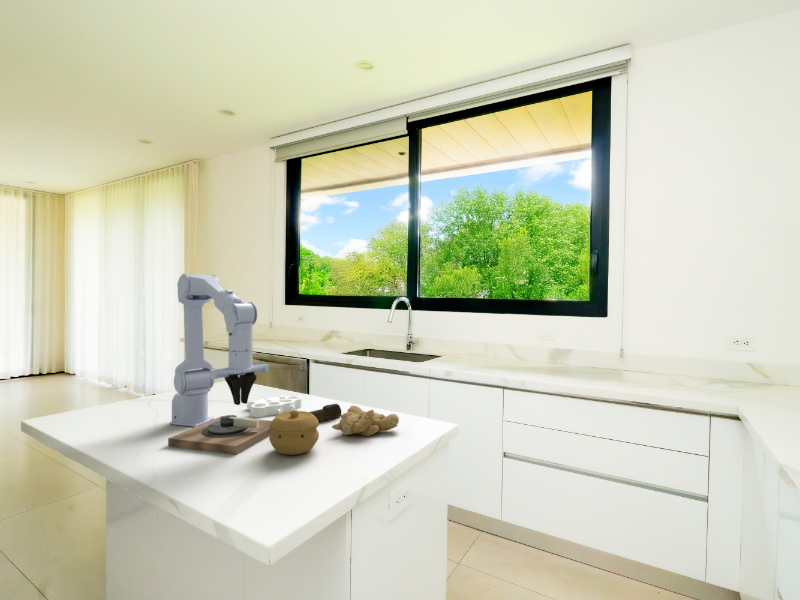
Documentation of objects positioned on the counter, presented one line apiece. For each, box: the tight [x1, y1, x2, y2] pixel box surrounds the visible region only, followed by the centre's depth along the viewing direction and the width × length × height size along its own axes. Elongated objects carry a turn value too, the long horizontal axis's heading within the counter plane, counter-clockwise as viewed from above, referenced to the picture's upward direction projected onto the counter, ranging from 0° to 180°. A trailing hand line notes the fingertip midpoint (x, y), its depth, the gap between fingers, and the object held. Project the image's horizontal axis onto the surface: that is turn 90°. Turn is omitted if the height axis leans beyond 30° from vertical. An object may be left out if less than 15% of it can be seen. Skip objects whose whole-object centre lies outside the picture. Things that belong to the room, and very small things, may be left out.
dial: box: [208, 414, 260, 435], centre depth 111 cm, size 14×10×3 cm
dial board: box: [167, 415, 272, 456], centre depth 112 cm, size 20×20×2 cm
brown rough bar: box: [308, 403, 342, 422], centre depth 125 cm, size 19×4×5 cm, turn 129°
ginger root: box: [331, 405, 400, 437], centre depth 117 cm, size 16×16×8 cm
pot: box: [268, 409, 320, 456], centre depth 102 cm, size 12×12×10 cm
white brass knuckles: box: [246, 395, 303, 418], centre depth 139 cm, size 3×18×15 cm
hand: (240, 403), depth 107 cm, fingers closed
